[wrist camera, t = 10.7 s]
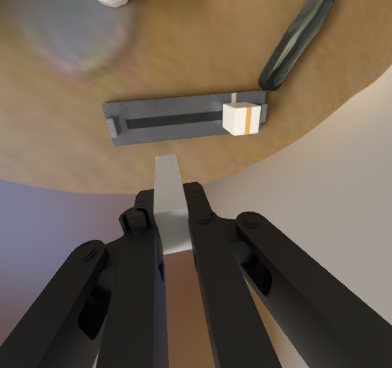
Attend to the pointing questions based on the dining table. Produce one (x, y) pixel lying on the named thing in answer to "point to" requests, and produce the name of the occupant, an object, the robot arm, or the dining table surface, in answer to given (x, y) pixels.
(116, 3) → the white cup
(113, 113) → the grey slider track
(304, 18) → the mobile phone
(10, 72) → the dining table surface
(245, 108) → the fader
